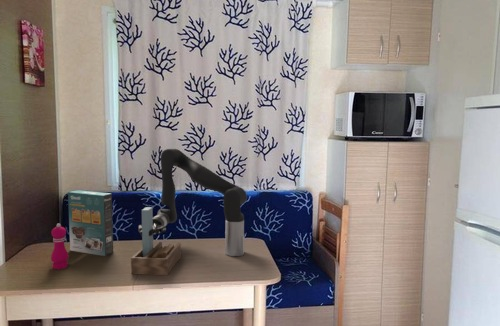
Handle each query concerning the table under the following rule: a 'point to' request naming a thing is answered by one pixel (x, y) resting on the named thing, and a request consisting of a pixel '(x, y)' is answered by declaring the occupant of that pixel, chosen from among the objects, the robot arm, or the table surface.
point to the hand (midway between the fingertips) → (145, 233)
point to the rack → (155, 261)
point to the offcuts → (163, 251)
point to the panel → (147, 230)
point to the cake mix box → (90, 222)
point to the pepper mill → (59, 248)
